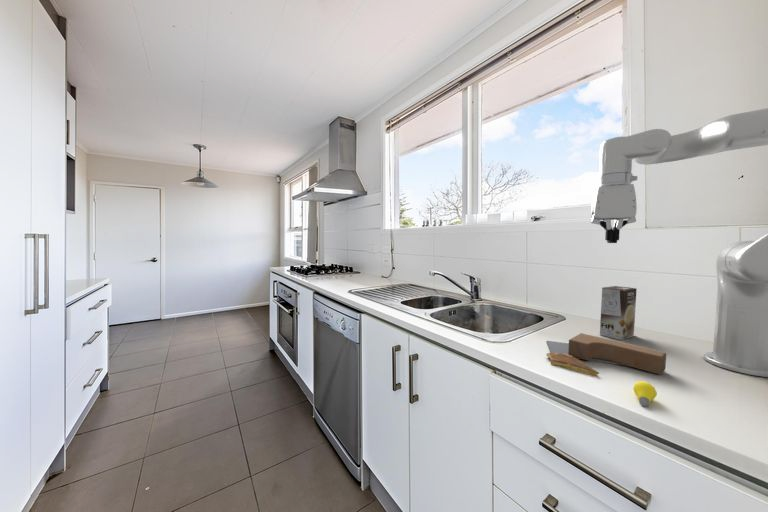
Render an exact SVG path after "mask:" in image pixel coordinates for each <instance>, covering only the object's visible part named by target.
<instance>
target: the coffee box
mask: <svg viewBox="0 0 768 512" xmlns="http://www.w3.org/2000/svg"><path fill="white" fill-rule="evenodd" d="M601 289H602V290H601V304H600V323H599V325H600V326H599V335H600V336H604V337H606V338H611V339H615V340H619V341H623V340H625V339H628V337H629V338H631V336H632V337H633V335H634V336H635V322H636V321H635V319H636V305H637V304H636V303H637V289H638V288H637V287H629V286H628V287H627V286H617V285H613V286H605V287H601Z"/></svg>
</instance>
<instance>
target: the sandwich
mask: <svg viewBox="0 0 768 512" xmlns="http://www.w3.org/2000/svg"><path fill="white" fill-rule="evenodd" d="M545 355H546V356H547V358H548V359H550V365H553V366H558V367H562V368H565V369H569V370H572V371H575V372H579V373H583V374H586V375H592V376H597V377H598V375H599V374H600V371H597V370H595V369H594V368H592V367H590V366H589V365H587V363H585V362H583V361H582V360H581V359H577V358H575V357H573V356H572V355H567V354H563V353H550V352H547V353H545Z"/></svg>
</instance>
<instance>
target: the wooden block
mask: <svg viewBox="0 0 768 512" xmlns="http://www.w3.org/2000/svg"><path fill="white" fill-rule="evenodd" d="M568 343H569V350H568V354H569V355H572V356H573V357H577V358H580V359H579V360H583V359H584V360H585V361H590V360H589V359H592V358H594V359H603V360H608V361H612V362H616V363H620V364H623V365H622V366H625V365H627V366H626V367H632V368H635V369H637V370H641V371H645V372H649V373H653V374H657V375H662V374H664V372H665V370H666V365H667V364H666V362H667V352H665V351H662V350H657V349H653V348H649V347H644V346H640V345H639V346H638V345H634V344H631V343H630V344H629V343H627V342H621V341H617V340H612V339H610V338H604V337H601V336H595V335H592V334H587V333H579V334H577V335H576V336H573V337H572V338H570V339H568Z"/></svg>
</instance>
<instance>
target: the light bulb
mask: <svg viewBox="0 0 768 512" xmlns="http://www.w3.org/2000/svg"><path fill="white" fill-rule="evenodd" d="M632 390H633V392H634V394H635V396H636V397H637V398H638V400H639V401H638V402H639V404H640V405H641V406H642V407H649V405H650V403H651V401H653V400H655V398H656V397H657V395H658V393H657V390H656V388H655V386H654V385H652V384H651V383H650V382H646V381H643V380H641V381H636V382H635V384H634V385H633V389H632Z"/></svg>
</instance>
